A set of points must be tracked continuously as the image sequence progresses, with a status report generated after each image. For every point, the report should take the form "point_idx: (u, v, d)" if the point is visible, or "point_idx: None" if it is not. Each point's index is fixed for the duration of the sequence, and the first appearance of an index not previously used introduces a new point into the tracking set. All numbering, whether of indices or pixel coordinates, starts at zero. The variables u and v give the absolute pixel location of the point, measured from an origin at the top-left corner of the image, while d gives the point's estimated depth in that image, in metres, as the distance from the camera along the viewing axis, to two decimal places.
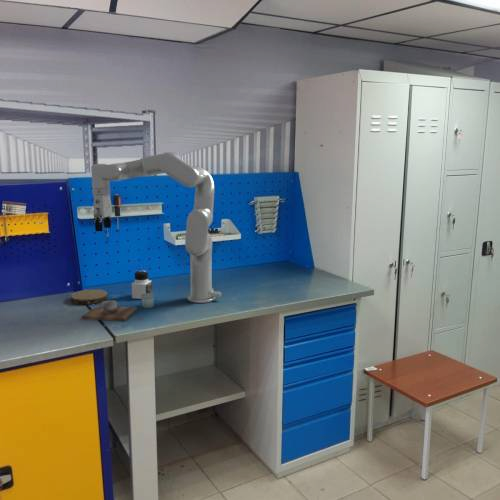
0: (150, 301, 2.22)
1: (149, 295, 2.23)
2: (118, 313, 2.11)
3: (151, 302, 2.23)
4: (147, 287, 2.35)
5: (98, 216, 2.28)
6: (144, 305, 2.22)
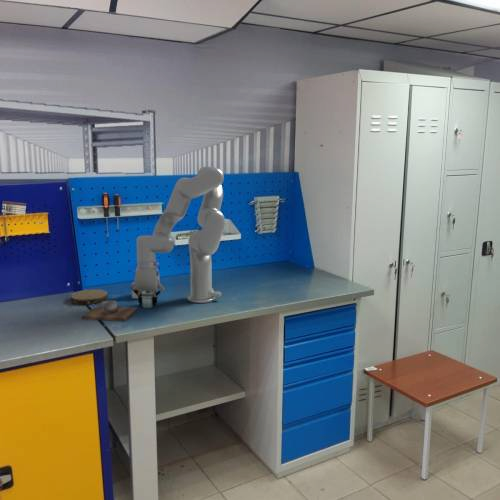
0: (150, 301, 2.22)
1: (149, 295, 2.23)
2: (118, 313, 2.11)
3: (151, 302, 2.23)
4: None
5: (155, 290, 2.23)
6: (144, 305, 2.22)
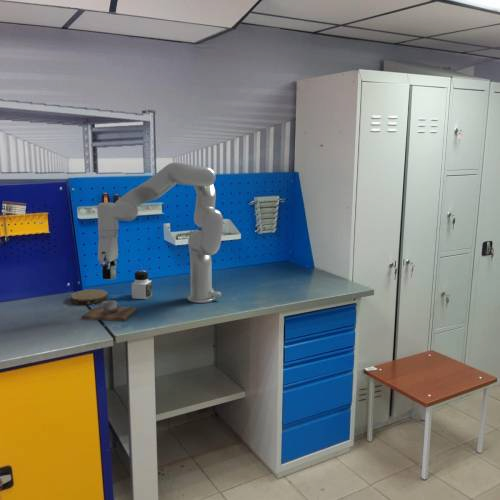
0: None
1: (112, 265, 2.11)
2: (118, 313, 2.11)
3: None
4: (147, 287, 2.35)
5: None
6: (114, 276, 2.10)
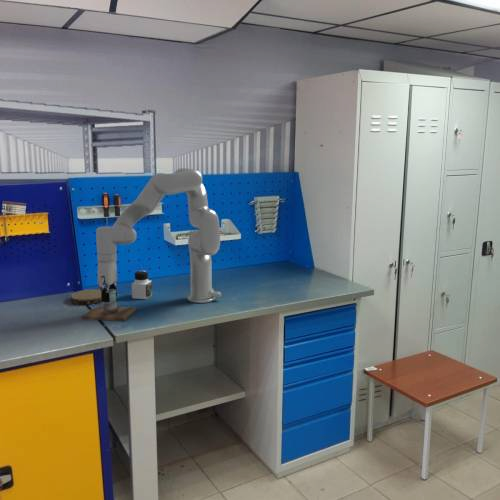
0: None
1: (111, 290, 2.13)
2: (118, 313, 2.11)
3: None
4: (147, 287, 2.35)
5: None
6: (114, 300, 2.11)
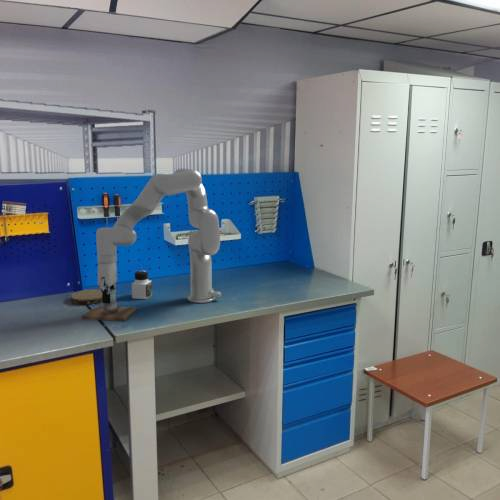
0: None
1: (111, 290, 2.12)
2: (118, 313, 2.11)
3: None
4: (147, 287, 2.35)
5: None
6: (114, 300, 2.11)
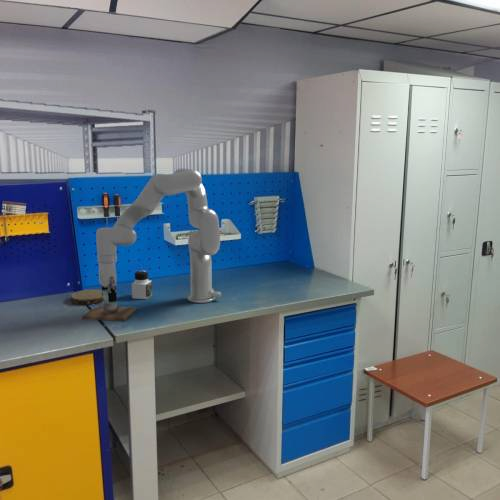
0: None
1: None
2: (118, 313, 2.11)
3: None
4: (147, 287, 2.35)
5: None
6: None
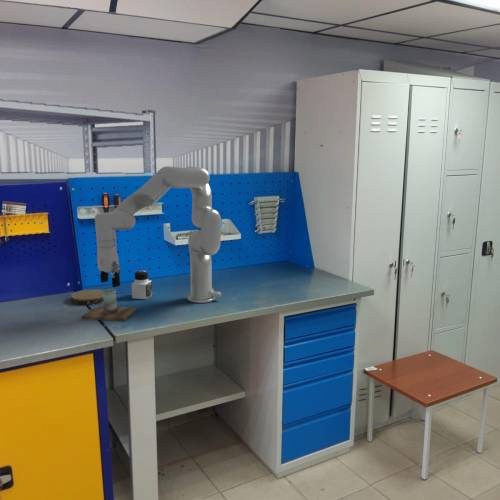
0: None
1: (106, 290, 2.12)
2: (118, 313, 2.11)
3: None
4: (147, 287, 2.35)
5: None
6: None
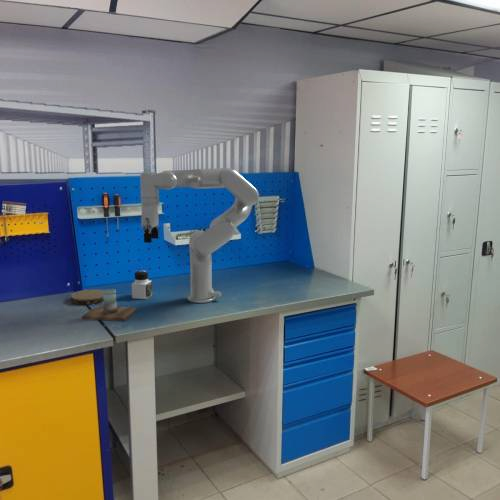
0: None
1: (107, 290, 2.12)
2: (118, 313, 2.11)
3: None
4: (147, 287, 2.35)
5: None
6: None
